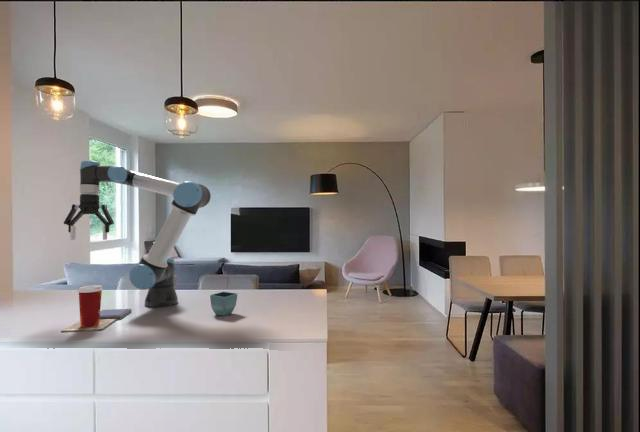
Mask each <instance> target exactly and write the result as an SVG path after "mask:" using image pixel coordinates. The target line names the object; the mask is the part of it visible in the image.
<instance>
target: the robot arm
mask: <svg viewBox="0 0 640 432" xmlns="http://www.w3.org/2000/svg"><path fill="white" fill-rule="evenodd" d="M79 171H80V172H79V173H80V178H79V179H80V183H79V185H80V186H79V193H80V195H79V204H74V203H73V204H72V205H71V209H70V210H69V213H68V214H67V216H66V218H65V219H64V221H63V224H64V225H67V226H68V233H70V234H69V235H70V237H69V239H70V241H75V240H76V225H75V224H77V222H78V221H79V220H80V219H81V218H82V217H83V216H84V215H95V216H96V217H97V218H98V219H99V220H100V222H102V224H103V225H102V240H103V241H105V240H108V233H109V232H110V226H111V225H114V224H115V222H114V220H113V218H112V216H111V214H110V213H109V211H108V207H107V204H100V185H101V184H100V183H103V182H105V183H113V184H121V185H125V186H129V187H133V188H136V189H141V190H145V191H149V192H152V193H157V194H160V195H163V196H168V197H171V198H173V199H172V201H171V203H170V204H171V207H172V209H171V211H170V212H169V215H168V216H167V218H166V220H165V222H164V224H163V226H162V227H161V229H160V231H159V233H158V234H157V237H156V238H155V240H154V242H153V244H152V246H151V248H150V250H149V251H148V252H147V253H145V254H143V255H142V257H141V259H140V260H139V262H138V264H136V265H134V266H132V267H131V268H130V271H129V275H128V277H129V280H130V283H131V285H132V286H133V287H135V288H136V289H138V290H147V294H146V296H145V299H144V306H145V307H150V308H160V307H169V306H172V305H176V304H177V303H179V300H178V299H179V298H178V294H177V292H176V289H175V267H176V264H175V259H174V258H172V257H170V256H171V255H172V252H173V250H174V248H175V246H176V244H177V242H178V241H179V239H180V237H181V235H182V233H183V231H184V230H185V228H186V226H187V224H188V223H189V220H190V218H191V217H192V216H196V214H197V212H198V210H199V209H200V208H204V207H205V206H206V207H207V205H208V204H209V203H210V201H211V198H212V196H211V192H210V190H209V188H208V187H206V186H205V185H203V184H201V183H197V182H195V181H182V182H176V181H173V180H169V179H164V178H160V177H157V176H153V175H148V174H145V173H142V172H138V171H134V170H130V169H126V168H125V167H124V166H123V165H115V164H114V165H101V164H100V162H99V161H95V160H82V161H81V162H80V169H79ZM78 209H79V211H78ZM99 210H101V211H102V213H103V214H101V211H99ZM77 211H78V212H77ZM76 212H77V214H76ZM75 214H76V215H75ZM103 215H104V216H105V217H104V216H103Z"/></svg>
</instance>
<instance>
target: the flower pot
mask: <svg viewBox="0 0 640 432" xmlns="http://www.w3.org/2000/svg"><path fill="white" fill-rule="evenodd" d="M209 297H210V305H211V309H212V311H213V313H214V314H215V315H217V316H222V317H225V316H227V315H231V314H232V313H233V312H234V310H235V308H236V306H237V300H238V293H236V292H229V291H221V292H220V291H219V292H216V293H213V294H209Z"/></svg>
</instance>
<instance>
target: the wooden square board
mask: <svg viewBox="0 0 640 432" xmlns="http://www.w3.org/2000/svg"><path fill="white" fill-rule="evenodd" d="M118 320H119V319H102V320H99V324H98V325H96V326H92V327H81V323H80V320H78V321H77V322H75V323H74V324H71V325H70V326H67V327H66V328H65V329H63V330H61V333H70V332H71V333H72V332H92V331H95V332H96V331H103V330H105V329H107V328H108V327H110V326H111V325H113V323H115V322H117V321H118Z"/></svg>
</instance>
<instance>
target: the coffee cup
mask: <svg viewBox="0 0 640 432" xmlns="http://www.w3.org/2000/svg"><path fill="white" fill-rule="evenodd" d="M103 290H104V288H103V287H102V285H99V284H93V285H92V284H91V285H84V286H81V287H79V288H78V290H77V292H78V305H79V321H80V323H81V327H92V326H96V325H98V324H99V318H100V311H101V304H102V292H103Z"/></svg>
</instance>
